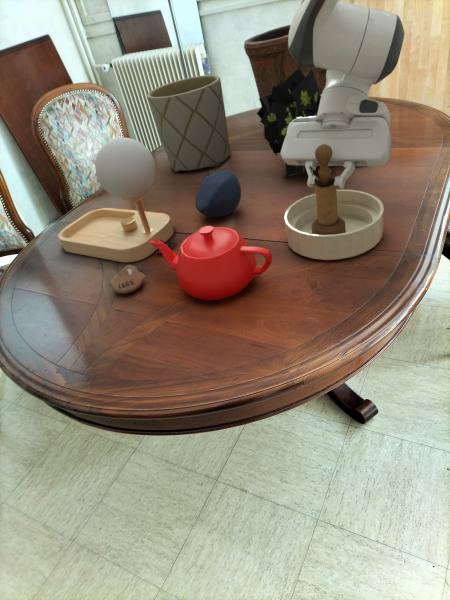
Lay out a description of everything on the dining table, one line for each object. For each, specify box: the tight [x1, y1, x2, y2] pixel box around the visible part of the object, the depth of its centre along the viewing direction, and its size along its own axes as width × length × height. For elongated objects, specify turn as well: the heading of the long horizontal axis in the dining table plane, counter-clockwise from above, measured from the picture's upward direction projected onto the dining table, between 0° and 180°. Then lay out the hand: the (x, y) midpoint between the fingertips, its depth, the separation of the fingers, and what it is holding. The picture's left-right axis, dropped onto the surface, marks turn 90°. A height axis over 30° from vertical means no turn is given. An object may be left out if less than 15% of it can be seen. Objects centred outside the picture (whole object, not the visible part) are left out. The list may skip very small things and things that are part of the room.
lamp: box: [57, 137, 175, 263], centre depth 98 cm, size 33×17×25 cm, turn 59°
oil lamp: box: [108, 264, 147, 294], centre depth 87 cm, size 9×4×8 cm
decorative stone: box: [195, 169, 242, 218], centre depth 103 cm, size 12×12×10 cm
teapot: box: [149, 225, 273, 301], centre depth 79 cm, size 25×16×12 cm, turn 69°
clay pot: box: [243, 24, 327, 107], centre depth 136 cm, size 25×29×30 cm
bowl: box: [283, 189, 385, 261], centre depth 85 cm, size 19×19×6 cm
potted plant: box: [256, 69, 322, 178], centre depth 110 cm, size 21×22×30 cm
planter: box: [146, 74, 231, 173], centre depth 133 cm, size 23×23×24 cm
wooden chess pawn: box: [312, 144, 346, 235], centre depth 79 cm, size 7×6×18 cm
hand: (325, 187), depth 78 cm, fingers closed on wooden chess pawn, 4 cm apart
